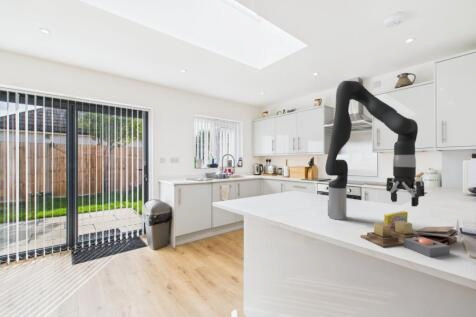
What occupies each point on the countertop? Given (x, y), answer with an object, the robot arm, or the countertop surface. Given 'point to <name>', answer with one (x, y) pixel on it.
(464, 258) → the countertop surface
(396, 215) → the candy box
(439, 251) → the button housing
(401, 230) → the block
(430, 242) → the button
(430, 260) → the countertop surface
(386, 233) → the block
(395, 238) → the pallet
